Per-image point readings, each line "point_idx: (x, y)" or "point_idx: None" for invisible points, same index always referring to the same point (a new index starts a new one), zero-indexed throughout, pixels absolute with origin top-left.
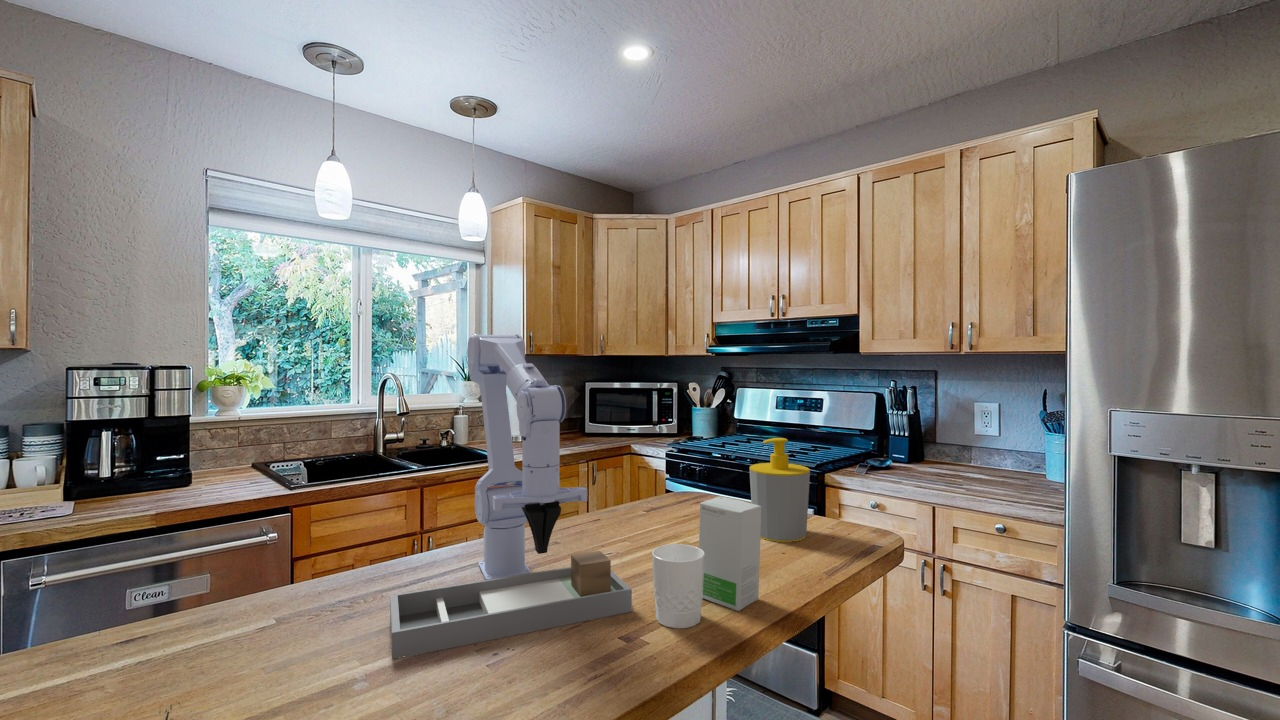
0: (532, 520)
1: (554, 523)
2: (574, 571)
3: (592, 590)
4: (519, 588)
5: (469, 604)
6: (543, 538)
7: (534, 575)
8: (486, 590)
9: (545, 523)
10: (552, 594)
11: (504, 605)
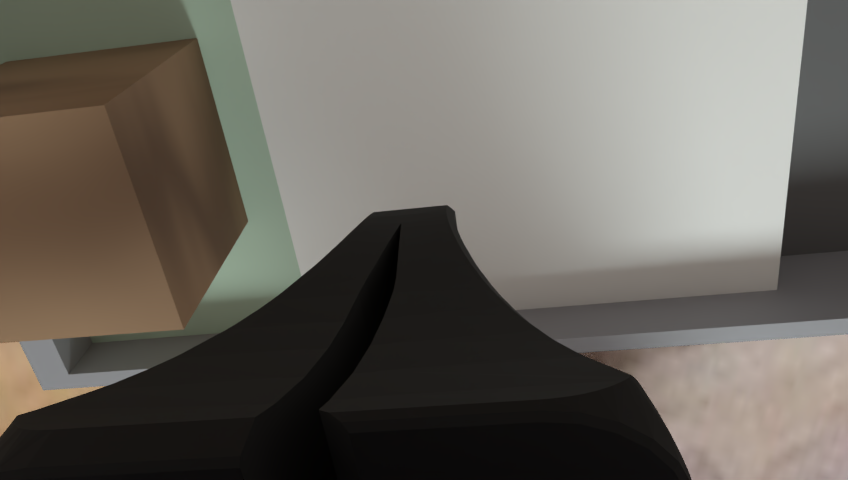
0: (565, 358)
1: (197, 352)
2: (192, 208)
3: (108, 54)
4: (547, 267)
5: (812, 248)
6: (387, 285)
7: None
8: (734, 292)
9: (333, 358)
10: (368, 128)
11: (683, 55)
